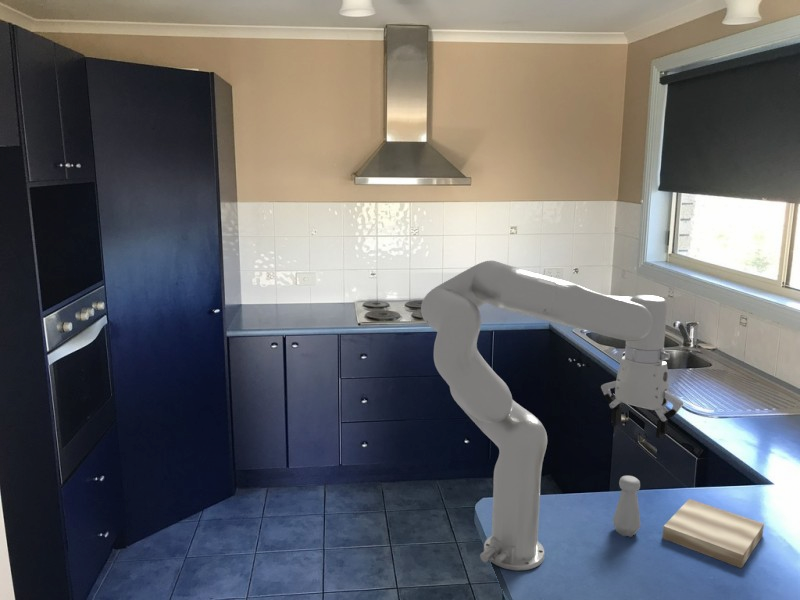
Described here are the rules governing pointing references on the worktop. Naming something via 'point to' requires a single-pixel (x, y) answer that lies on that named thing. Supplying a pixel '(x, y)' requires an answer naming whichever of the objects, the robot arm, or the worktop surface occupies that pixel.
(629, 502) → the salt shaker
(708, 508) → the plinth
